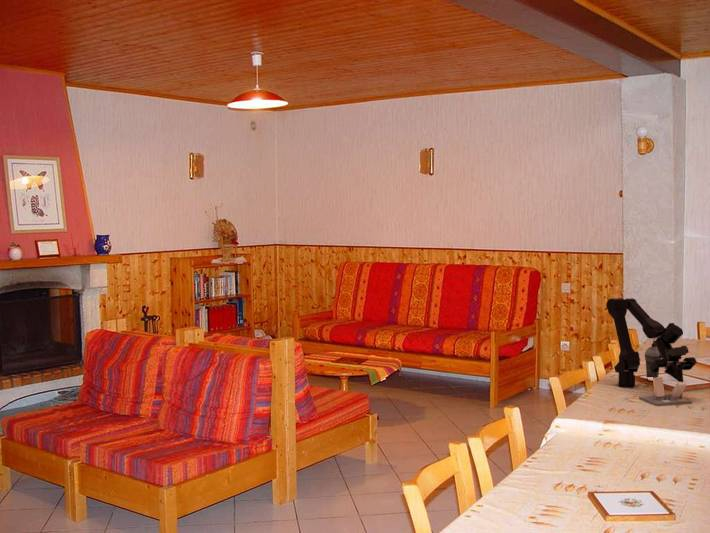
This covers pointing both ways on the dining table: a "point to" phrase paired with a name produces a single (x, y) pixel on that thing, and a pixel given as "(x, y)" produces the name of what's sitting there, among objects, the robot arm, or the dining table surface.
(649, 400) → the switch unit
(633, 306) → the robot arm
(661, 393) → the unmarked lever
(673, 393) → the marked lever
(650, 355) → the beverage cup
